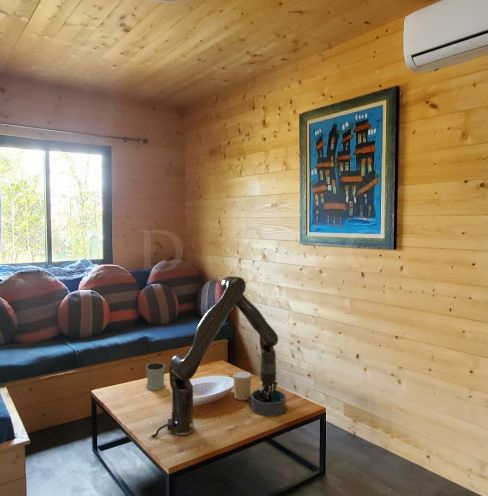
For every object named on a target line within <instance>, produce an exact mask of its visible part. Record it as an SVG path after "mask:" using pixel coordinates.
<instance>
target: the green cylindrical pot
mask: <svg viewBox="0 0 488 496" xmlns="http://www.w3.org/2000/svg"><path fill="white" fill-rule="evenodd" d="M165 369H166V365H165V364H164V363H163V362H158V361H157V362H151V363H148V364H146V366H145V370H146V371H145V372H146V380H147V381H146V382H147V384H146V385H147V389H148V390H150V391H161V390H162V389H164V387H165V385H164V383H165V382H164V381H165Z"/></svg>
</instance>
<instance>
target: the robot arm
mask: <svg viewBox="0 0 488 496" xmlns="http://www.w3.org/2000/svg"><path fill="white" fill-rule="evenodd" d="M246 287H247V284H246V281H245V280H244V278H242V277H240V276H234V275H233V276H230V275H229V276H226V277H224V278H223V279H222V280H221V283H220V288H221V291H222V296H221V297H220V299H219V300H218V301H217V302H216V303H215V304H214V305H213V306H211V308H210V309H208V310H207V311H206V312H205V314H204V315H203V316H202V318H201V320H200V321H199V323H198V324H197V326H196V329H195V332H194V338H193V343H192V346H191V348H190V350H189V351H188V353H187V354H186V355H184V354H181V353H178V354H175V355H174V356H172V358H171V359H170V362H169V366H168V367H169V370H168V372H169V373H168V374H169V385H170V388H171V389H170V390H171V418H167V423H165V424H164V425H162V426H160V427H158V429H157V430H156V432H155V433H154V434H151V437H152V438H155V437H157V436H158V435H159V432H160V431H161V430H162V429H164V428H167V431H171V435H176V436H186V435H189V434H191V433H192V432H193V431H194V424H195V421H194V385H193V384H192V382H191V380H190V379H192V378H193V377H194V376H195V374H196V373H197V371H198V369H199V367H200V365H201V362H202V361H203V358H204V357H205V354H206V353H207V352H208V350H209V348H210V346H211V344H212V343H213V341H214V339H215V338H216V336H217V335H218V333H219V332H220V330H221V328H222V326H223V324H224V323H225V322H226V320H227V318H228V316H229V314H230V313H231V311H232V310H233V308H234V307H235V306H236V307H237V309H239V311H240V312H241V313H242V315H243V316H244V317H245V319H246V320H247V321H248V323H249V324H250V326H251V327H252V329H253V330H254V331H255V332H256V333H257V334H258V335H259V347H260V352H261V355H260V360H261V361H260V371H259V372H260V373H259V374H260V377H259V378H260V381H261V388H258V389H257V390H258V391H259V394H260V397H261V398H262V399H264V403H268V401H270V402H272V396H273V394H275V390H277V385H278V382H277V353H276V350H275V348H274V347H275V346H276V345H278V343H279V336H278V334H277V332H276V331H275V329H273V328H272V326H271V325H270V324H269V323H268V321H267V320H266V318H265V317H264V316H263V314H262V313H261V311H260V310H259V309H258V308H257V307H256V306H255V305H254V303H252V302H251V301H250V300H249V299H248V298H247V297H246V296H245V291H246V289H247V288H246ZM273 389H274V390H273ZM265 394H266V395H267V396H266V395H265Z"/></svg>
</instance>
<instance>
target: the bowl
mask: <svg viewBox="0 0 488 496" xmlns="http://www.w3.org/2000/svg"><path fill="white" fill-rule="evenodd" d="M258 390H259V389H256V390H253V392H252V393H251V394H250V407H251V408H250V409H251V410H252V411H253V412H254V413H256V414H258V415H261V416H266V417H274V416H275V417H276V416H279V415H282V414H284V412H285V411H286V407H287V406H286V403H287V397H286V394H285V393H283V392H282V391H280V390H278V389H276V390H275V394H273V396H272V403H264V402H260V400H261V399H262V398H261V397H260V394H259V391H258ZM273 390H274V389H273ZM265 395H266V394H265ZM266 396H267V395H266Z"/></svg>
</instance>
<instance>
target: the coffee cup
mask: <svg viewBox="0 0 488 496" xmlns="http://www.w3.org/2000/svg"><path fill="white" fill-rule="evenodd" d="M232 377H233V391H234V392H233V394H234V399H236V400H239V401H247V400H249V399H250V398H251V384H252V383H251V382H252V374H251V373H250V372H249V371H245V370H241V371H239V370H238V371H235V372H234V373H233V376H232Z"/></svg>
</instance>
